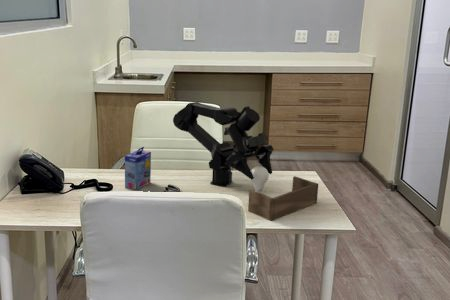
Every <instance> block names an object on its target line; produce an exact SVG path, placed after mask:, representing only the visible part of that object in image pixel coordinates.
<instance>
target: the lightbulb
mask: <svg viewBox="0 0 450 300" xmlns="http://www.w3.org/2000/svg"><path fill="white" fill-rule="evenodd" d="M251 172H252V174H253V177H254V179H252V180H251V182H252V184H253V188H254V191H255V192H258V193H261V194H263V189H264V186H265V184H266V183H267V181H268V180H269V176H270V174H269V173H268V171H267V169H266V168H264V167H263V166H262V165H257V166H254V167H253V168H252V169H251Z"/></svg>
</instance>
